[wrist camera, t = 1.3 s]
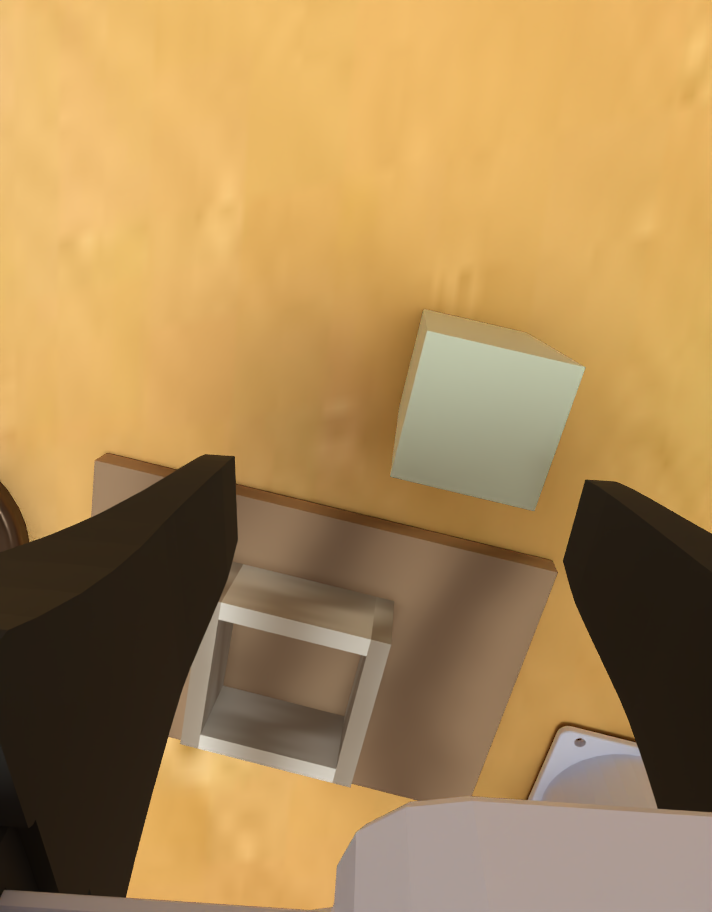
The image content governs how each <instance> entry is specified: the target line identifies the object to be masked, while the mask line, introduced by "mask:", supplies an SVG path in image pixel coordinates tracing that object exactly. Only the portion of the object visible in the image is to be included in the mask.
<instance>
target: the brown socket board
mask: <svg viewBox="0 0 712 912" xmlns="http://www.w3.org/2000/svg"><path fill="white" fill-rule="evenodd" d="M174 471H176V470H175V469H171V468H167V467H163V466H159V465H155V464H150V463H146V462H142V461H138V460H134V459H130V458H126V457H121V456H117V455H113V454H109V453H106V454H105V455H103V456H101V457H100V458H98V459H96V460H95V466H94V482H93V498H92V515H91V517H93V516H95V515H97V514H99V513H101V512H103V511H105V510H107V509H109V508H111V507H113V506H115V505H116V504H118V503H120V502H122V501H124V500H126V499H128V498H130V497H131V496H133V495H135V494H137V493H139V492H141V491H143V490H144V489H146V488H148V487H149V486H151V485H153V484H154V483H156V482H158V481H159V480H161V479H163V478H165V477H166V476H168V475H170V474H171V473H173V472H174ZM236 502H237V526H238V542H237V546H236V550H235V554H234V558H233V562H232V565H231V569H230V573H229V576H228V580H227V582H226V585H225V587H224V590H223V592H222V595H221V597H220V599H219V602H218V604H217V607H216V609H215V611H214V614H213V616H212V618H211V621H210V623H209V626H208V628H207V630H206V633H205V635H204V637H203V640H202V642H201V644H200V647H199V649H198V652H197V654H196V656H195V659H194V661H193V663H192V666H191V668H190V671H189V673H188V676H187V679H186V681H185V684H184V687H183V690H182V693H181V696H180V699H179V703H178V706H177V709H176V713H175V716H174V719H173V723H172V726H171V729H170V732H169V736H168V737H171V738H175V739H179V740H181V743H180V744H182V745H186V746H190V747H194V748H198V749H202V750H206V751H210V752H214V753H217V754H221V755H225V756H229V757H233V758H237V759H241V760H245V761H249V762H253V763H257V764H260V765H264V766H268V767H272V768H276V769H280V770H284V771H288V772H292V773H296V774H300V775H304V776H307V777H311V778H315V779H319V780H323V781H327V782H331V783H335V784H339V785H343V786H347V787H351V784H355V785H359V786H363V787H367V788H371V789H375V790H379V791H383V792H387V793H390V794H394V795H398V796H402V797H406V798H410V799H414V800H418V801H424V800H434V799H445V798H455V797H465V796H472V793H473V791H474V788H475V786H476V783H477V781H478V778H479V775H480V773H481V770H482V768H483V765H484V762H485V760H486V757H487V755H488V752H489V749H490V747H491V744H492V742H493V739H494V737H495V734H496V731H497V729H498V726H499V724H500V721H501V718H502V716H503V713H504V711H505V708H506V705H507V703H508V700H509V698H510V695H511V693H512V690H513V687H514V685H515V682H516V680H517V677H518V674H519V672H520V669H521V667H522V664H523V661H524V659H525V656H526V654H527V651H528V649H529V646H530V643H531V641H532V638H533V636H534V633H535V630H536V628H537V625H538V623H539V620H540V617H541V615H542V612H543V610H544V607H545V605H546V602H547V599H548V597H549V594H550V592H551V589H552V586H553V584H554V581H555V579H556V576H557V573H558V572H557V570H556V567H555V565H554V563H553V561H552V560H547V559H543V558H539V557H535V556H531V555H527V554H523V553H519V552H514V551H510V550H506V549H502V548H498V547H494V546H490V545H485V544H481V543H477V542H473V541H469V540H465V539H461V538H456V537H452V536H448V535H444V534H440V533H436V532H432V531H428V530H423V529H419V528H415V527H411V526H407V525H403V524H399V523H394V522H390V521H386V520H382V519H378V518H374V517H370V516H365V515H361V514H357V513H353V512H349V511H345V510H341V509H337V508H332V507H328V506H324V505H320V504H316V503H312V502H308V501H303V500H299V499H295V498H291V497H287V496H283V495H279V494H274V493H270V492H266V491H262V490H258V489H254V488H250V487H246V486H241V485H237V484H236Z"/></svg>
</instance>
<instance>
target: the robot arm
mask: <svg viewBox="0 0 712 912" xmlns="http://www.w3.org/2000/svg"><path fill="white" fill-rule="evenodd" d="M237 542H238V526H237V502H236V478H235V456H222V455H207V454H205V455H203V456H200V457H198V458H197V459H195V460H193V461H191V462H189V463H188V464H186V465H184V466H183V467H181V468H179V469H178V470H176V471H174V472H173V473H171V474H170V475H168V476H166V477H165V478H163V479H161V480H159V481H158V482H156V483H154V484H153V485H151V486H149V487H148V488H146V489H144V490H143V491H141V492H139V493H137V494H135V495H133V496H131V497H130V498H128V499H126V500H124V501H122V502H120V503H118V504H116V505H115V506H113V507H111V508H109V509H107V510H105V511H103V512H101V513H99V514H97V515H95V516H93V517H91V518H89V519H87V520H84V521H82V522H80V523H78V524H75V525H73V526H71V527H68V528H66V529H63V530H61V531H59V532H56V533H54V534H51V535H49V536H46V537H43V538H41V539H38V540H35V541H32V542H29V543H26V544H23V545H20V546H17V547H14V548H11V549H8V550H5V551H2V552H0V912H712V534H711V533H709V532H708V531H706V530H704V529H702V528H700V527H699V526H697V525H695V524H693V523H692V522H690V521H688V520H686V519H685V518H683V517H681V516H679V515H678V514H676V513H674V512H673V511H671V510H669V509H667V508H666V507H664V506H662V505H660V504H659V503H657V502H655V501H653V500H652V499H650V498H648V497H646V496H644V495H642V494H641V493H639V492H637V491H635V490H633V489H631V488H629V487H627V486H625V485H622V484H620V483H618V482H613V481H598V480H585V483H584V487H583V490H582V494H581V498H580V501H579V505H578V509H577V512H576V516H575V519H574V523H573V527H572V530H571V534H570V538H569V541H568V545H567V549H566V552H565V556H564V559H563V563H564V566H565V570H566V574H567V578H568V581H569V585H570V588H571V591H572V594H573V598H574V601H575V604H576V606H577V608H578V610H579V613H580V615H581V617H582V619H583V622H584V624H585V626H586V628H587V630H588V632H589V635H590V637H591V639H592V641H593V643H594V645H595V647H596V650H597V652H598V654H599V656H600V658H601V660H602V662H603V664H604V667H605V669H606V671H607V673H608V675H609V677H610V679H611V681H612V684H613V686H614V688H615V690H616V692H617V694H618V696H619V698H620V701H621V703H622V706H623V708H624V710H625V713H626V715H627V718H628V720H629V723H630V726H631V729H632V732H633V734H634V737H635V740H636V742H632V741H628V740H624V739H620V738H616V737H612V736H608V735H604V734H600V733H596V732H592V731H588V730H584V729H580V728H576V727H572V726H564V727H562V728H560V729H559V730H558V731H557V733H556V736H555V738H554V740H553V743H552V745H551V747H550V750H549V752H548V754H547V757H546V759H545V761H544V763H543V766H542V768H541V770H540V773H539V775H538V777H537V780H536V782H535V784H534V787H533V789H532V791H531V793H530V796H529V798H528V800H518V799H503V798H488V797H473V796H465V797H455V798H445V799H434V800H424V801H414V802H409V803H407V804H405V805H403V806H401V807H399V808H397V809H395V810H393V811H391V812H389V813H387V814H385V815H383V816H381V817H379V818H377V819H375V820H373V821H371V822H369V823H367V824H366V825H365V826H363V827H362V828H361V829H360V830H358V831H357V832H356V833H355V835H354V837H353V839H352V840H351V842H350V844H349V846H348V848H347V849H346V851H345V853H344V855H343V856H342V858H341V860H340V862H339V864H338V865H337V873H336V886H335V899H334V905H333V907H330V908H322V909H315V910H301V909H286V908H271V907H256V906H241V905H226V904H211V903H196V902H181V901H166V900H151V899H137V898H126V894H127V890H128V886H129V882H130V878H131V874H132V870H133V865H134V861H135V857H136V854H137V850H138V846H139V842H140V838H141V834H142V831H143V827H144V823H145V819H146V815H147V812H148V808H149V804H150V800H151V796H152V792H153V789H154V785H155V782H156V778H157V775H158V771H159V768H160V764H161V760H162V757H163V753H164V750H165V746H166V743H167V739H168V736H169V732H170V729H171V726H172V723H173V719H174V716H175V713H176V709H177V706H178V703H179V699H180V696H181V693H182V690H183V687H184V684H185V681H186V679H187V676H188V673H189V671H190V668H191V666H192V663H193V661H194V659H195V656H196V654H197V652H198V649H199V647H200V644H201V642H202V640H203V637H204V635H205V633H206V630H207V628H208V626H209V623H210V621H211V618H212V616H213V614H214V611H215V609H216V607H217V604H218V602H219V599H220V597H221V595H222V592H223V590H224V587H225V585H226V582H227V580H228V576H229V573H230V569H231V565H232V562H233V558H234V554H235V550H236V546H237ZM578 738H582V739H581V740H576V739H578Z"/></svg>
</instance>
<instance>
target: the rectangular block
mask: <svg viewBox="0 0 712 912" xmlns="http://www.w3.org/2000/svg"><path fill="white" fill-rule="evenodd" d="M584 370H585V367H584V366H582V365H581V364H579V363H577V362H576V361H574V360H572V359H571V358H569V357H567V356H565V355H564V354H562V353H560V352H559V351H557V350H555V349H553V348H552V347H550V346H548V345H547V344H545V343H543V342H542V341H540V340H538V339H536V338H535V337H533V336H531V335H530V334H528V333H526V332H522V331H518V330H514V329H509V328H505V327H501V326H496V325H492V324H488V323H483V322H479V321H475V320H470V319H466V318H461V317H457V316H453V315H448V314H444V313H440V312H435V311H431V310H427V309H423V313H422V317H421V321H420V325H419V329H418V333H417V337H416V341H415V345H414V349H413V353H412V357H411V361H410V365H409V369H408V373H407V377H406V381H405V385H404V390H403V394H402V398H401V402H400V406H399V411H398V419H397V427H396V435H395V443H394V451H393V458H392V466H391V474H390V477H393V478H398V479H402V480H406V481H410V482H414V483H418V484H423V485H427V486H431V487H435V488H439V489H443V490H448V491H452V492H456V493H460V494H464V495H469V496H473V497H477V498H481V499H485V500H489V501H494V502H498V503H502V504H506V505H510V506H514V507H519V508H523V509H527V510H531V511H535V508H536V505H537V502H538V500H539V497H540V494H541V491H542V488H543V486H544V483H545V480H546V477H547V474H548V471H549V469H550V466H551V463H552V460H553V457H554V455H555V452H556V449H557V446H558V443H559V441H560V438H561V435H562V432H563V429H564V426H565V424H566V421H567V418H568V415H569V412H570V410H571V407H572V404H573V401H574V398H575V395H576V393H577V390H578V387H579V384H580V381H581V379H582V376H583V373H584Z"/></svg>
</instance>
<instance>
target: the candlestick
mask: <svg viewBox="0 0 712 912" xmlns="http://www.w3.org/2000/svg"><path fill="white" fill-rule="evenodd" d="M26 543H29V540H28V535H27V530H26V525H25V523H24V520H23V518H22V515H21V513H20V510H19V508H18V506H17V505H16V503H15V501H14V500H13V498H12V497H11V495H10V493H9V492H8V490H7V489H6V488H5V487H4V486H3V485H2V484H1V482H0V552H2V551H5V550H8V549H11V548H14V547H17V546H20V545H23V544H26Z"/></svg>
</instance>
